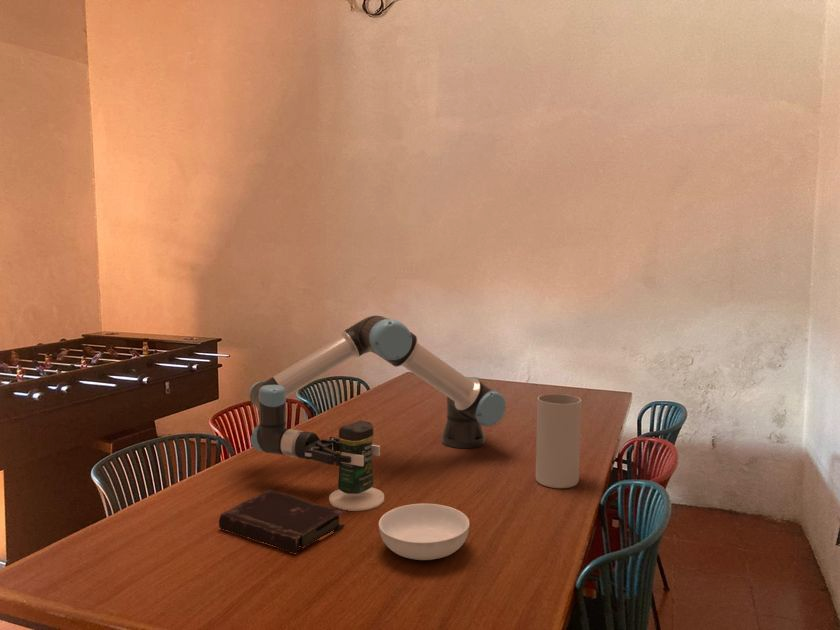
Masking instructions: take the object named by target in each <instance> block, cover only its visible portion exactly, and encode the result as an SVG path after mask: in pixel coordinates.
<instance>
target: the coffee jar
mask: <svg viewBox="0 0 840 630" xmlns="http://www.w3.org/2000/svg"><path fill="white" fill-rule="evenodd" d="M338 438H339V442H340V451H339V453H340V455H341V453H342V452H345V453H351V454H357V455H363V456H364V466H357V465H351V464H345V463H341V462H340V466H338V469H339V470H338V480H337V488H338V489H339V490H341V491H342V492H344V493H347V494H349V493H350V494H358V493H361V492H364V491H366V490H368V489H370V488H371V487H372V488H373V486H374V472H373V455H372V445H373V439H374V426H373V424H372V422H370V421H365V420H361V419H359V420H358V421H355V422H352V423H349V424H346V425H342V426H340V427H339V430H338Z"/></svg>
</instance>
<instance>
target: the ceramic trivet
mask: <svg viewBox="0 0 840 630" xmlns="http://www.w3.org/2000/svg"><path fill="white" fill-rule="evenodd" d="M328 500H329V501H328V502H329V504H330V506H332V508H333V507H334V509H337V508H338V509H337V510H341V509H342V510H341V511H346V510H348V512H361V511H368V510H371V509H375V508H377V507H379V506H381V505H382V504H383V503H384V502H385V494H384V492H383V491H381V490H380V489H378V488H375V487H373V486H372V487H371V488H370V489H368V490H366V491H364V492H361V493H358V494H350V493H349V494H347V493H344V492H342V491H341V490H339V488H338V489H337V490H334V491H332V492H331V493H330V495H329V497H328Z"/></svg>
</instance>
